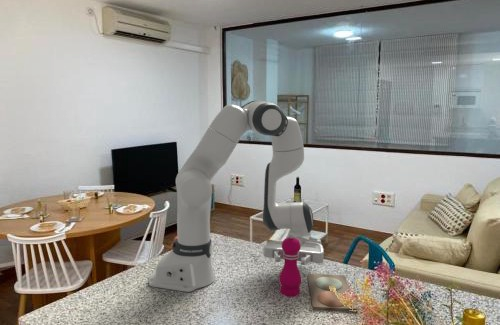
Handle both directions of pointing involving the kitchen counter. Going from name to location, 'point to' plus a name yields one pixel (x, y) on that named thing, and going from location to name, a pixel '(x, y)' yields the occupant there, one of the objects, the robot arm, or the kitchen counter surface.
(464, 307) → the kitchen counter surface
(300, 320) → the kitchen counter surface
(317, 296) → the colour board
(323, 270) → the kitchen counter surface
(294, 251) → the pepper mill
